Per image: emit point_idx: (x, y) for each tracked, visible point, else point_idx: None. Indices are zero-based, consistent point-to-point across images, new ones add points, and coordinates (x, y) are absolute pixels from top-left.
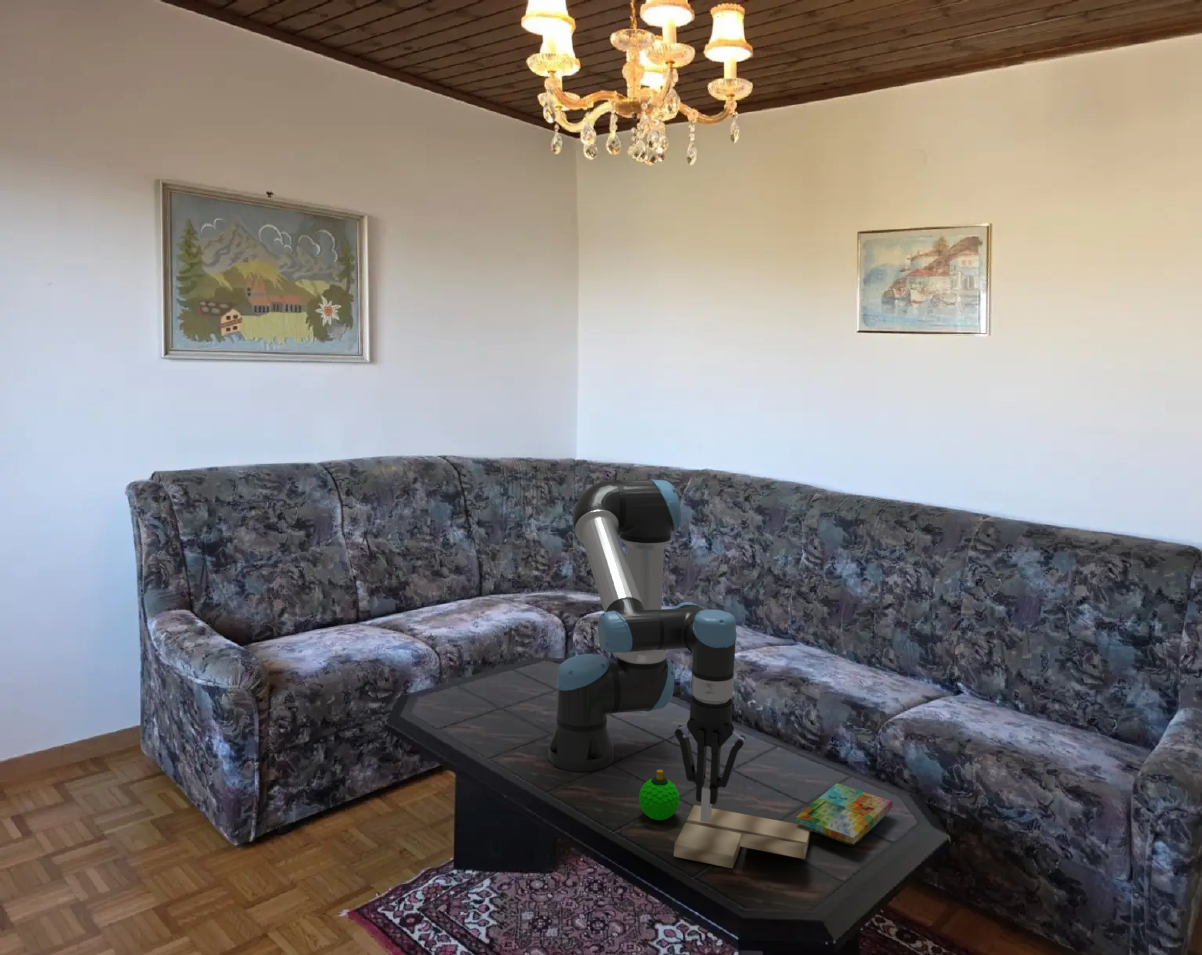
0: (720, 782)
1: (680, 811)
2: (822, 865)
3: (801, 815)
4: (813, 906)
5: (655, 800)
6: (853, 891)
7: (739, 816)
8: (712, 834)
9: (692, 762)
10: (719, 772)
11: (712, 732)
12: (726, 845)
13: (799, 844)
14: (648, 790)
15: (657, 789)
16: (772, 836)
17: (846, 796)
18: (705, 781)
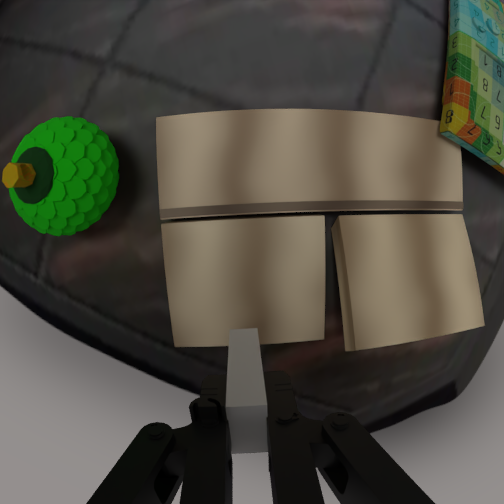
0: (320, 470)
1: (127, 118)
2: (470, 227)
3: (459, 123)
4: (450, 357)
5: (59, 233)
6: (501, 287)
7: (297, 126)
8: (249, 257)
9: (150, 500)
10: (310, 450)
11: None
12: (298, 297)
13: (478, 326)
14: (27, 219)
15: (43, 216)
16: (398, 203)
17: (498, 29)
18: (228, 408)
